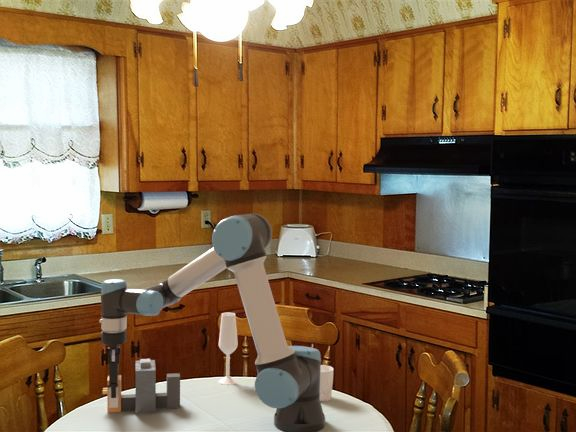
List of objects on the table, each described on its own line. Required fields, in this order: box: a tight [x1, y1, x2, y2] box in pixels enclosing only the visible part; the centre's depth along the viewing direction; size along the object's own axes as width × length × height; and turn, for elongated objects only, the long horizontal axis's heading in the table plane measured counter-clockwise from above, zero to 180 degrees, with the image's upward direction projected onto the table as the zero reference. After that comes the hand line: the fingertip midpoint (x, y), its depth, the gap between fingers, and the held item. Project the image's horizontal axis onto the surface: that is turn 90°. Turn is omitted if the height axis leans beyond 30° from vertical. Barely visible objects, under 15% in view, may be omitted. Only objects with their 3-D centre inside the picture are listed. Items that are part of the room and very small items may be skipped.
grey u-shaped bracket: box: [135, 358, 157, 415], centre depth 225 cm, size 6×11×15 cm, turn 12°
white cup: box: [320, 364, 335, 402], centre depth 237 cm, size 8×8×10 cm
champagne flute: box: [217, 312, 239, 386], centre depth 252 cm, size 7×7×24 cm
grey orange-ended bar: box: [102, 372, 181, 414], centre depth 225 cm, size 24×5×10 cm, turn 102°
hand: (114, 403), depth 224 cm, fingers open, 6 cm apart
